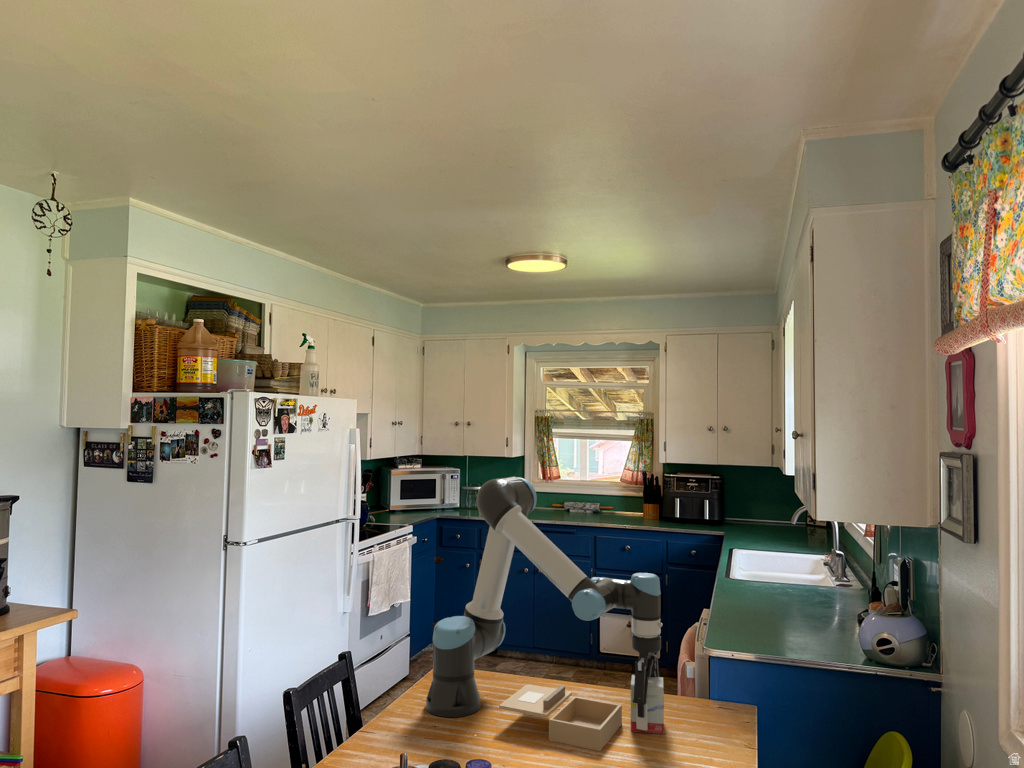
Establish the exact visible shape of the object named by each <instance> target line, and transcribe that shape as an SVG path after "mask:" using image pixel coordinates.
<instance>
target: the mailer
mask: <svg viewBox="0 0 1024 768" xmlns="http://www.w3.org/2000/svg"><path fill="white" fill-rule="evenodd" d="M622 711H623V705H622V704H620V703H612V702H609V701H608V702H607V701H602V700H596V699H590V698H585V697H579V696H573V697H572V698H570V700H568V701H567V702H566V703H565V704H564V705H563V706H562V707H560V708H559V710H557V711H556V712H555V713H554V714H553V715H552V716H551V717H550V718H549V719H548V741H551V742H554V743H555V742H556V743H559V744H564V745H569V746H574V747H579V748H584V749H589V750H593V751H598V752H601V751H602V750H603V749H604V747H605V746H606V745H608V744H607V743H608V742H609V741H610V740H611V739H612V737H613V736H614V735H615V734H616V733H617V732H618V730H619V729H620V728H621V726H622V725H623V713H622ZM619 727H620V728H619Z"/></svg>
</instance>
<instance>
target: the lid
mask: <svg viewBox="0 0 1024 768" xmlns="http://www.w3.org/2000/svg"><path fill="white" fill-rule="evenodd" d="M572 695H573V692H572V691H569V690H566V685H560V686H558V688H552V687H547V686H541V685H535V684H529V683H527V684H526V685H524V686H523V687H521V688H520V689H519V690H518V691H516V692H515V693H514V694H512V695H510V696H508V698H507V699H505V700H504V701H503V702H501V703H500V704H499V705H498V709H499V710H504V711H509V712H515V713H521V714H526V715H529V716H530V715H531V716H535V717H541V718H546V719H547V718H548V717H549V716H550V715H552V714H553V713H554V712H555V711H556V710H557V709H558V708H559V707H560V706H561V705H563V704H564V703H565V702H566V701H567V700H568V699H570V697H572Z"/></svg>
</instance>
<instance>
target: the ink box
mask: <svg viewBox="0 0 1024 768" xmlns="http://www.w3.org/2000/svg"><path fill="white" fill-rule="evenodd" d="M630 679H631V680H630V731H631V732H635V733H642V734H643V733H645V734H646V733H647V734H657V735H664V734H665V731H664V729H665V696H664V695H665V694H664V693H665V691H664V689H665V687H664V677H661V676H659V677H649V679H648V687H647V698H646V703H647V715H648V730H647V731H646V730H640V729H636V703H633V699H634V684H635V674H631V678H630ZM639 699H641V698H639Z"/></svg>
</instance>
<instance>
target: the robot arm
mask: <svg viewBox="0 0 1024 768" xmlns="http://www.w3.org/2000/svg"><path fill="white" fill-rule="evenodd" d="M537 498H538V497H537V491H536V489H535V488H534V486H533V484H532V483H531V482H530V481H529V480H527V479H525V478H523V477H518V476H510V477H501V478H493V479H490V480H488V481H486V482H484V483H483V484H482V485H481V486H480V488H479V490H478V492H477V494H476V506H477V510H478V512H479V514H480V515H481V517H482V518H483V520H484V521H485V522H486V523H487V525H489V527H488V533H487V535H486V541H485V546H484V550H483V554H482V559H481V562H480V566H479V571H478V576H477V579H476V584H475V589H474V592H473V596H472V600H471V601H470V602H468V603H466V605H465V608H464V612H463V615H454V616H450V617H444V618H443V619H442V618H441V620H439V621H437V622H436V624H435V625H434V627H433V634H432V681H431V682H430V686H429V690H428V693H427V696H426V701H425V709H426V711H427V712H428V713H430V714H431V715H434V716H438V717H441V718H442V717H444V718H461V717H465V716H469V715H473V714H475V713H476V712H478V711H479V710H480V708H481V696H480V695H481V694H480V693H479V688H478V686H477V683H476V679H475V660H478V659H479V658H482V657H483V656H485V655H488V654H490V653H492V652H494V651H495V650H496V649H497V648H498V647H499V646H500V645H502V642H503V641H504V639H505V636H506V624H505V622H504V612H503V609H501V605H502V601H503V597H504V592H505V588H506V584H507V581H508V575H509V573H510V568H511V564H512V559H513V556H514V551H515V547H516V548H517V549H518V550H519V551H520V552H521V553H522V554H523V555H524V556H525V557H527V559H528V560H529V561H530V562H531V563H532V564H533V565H534V566H535V567H536V568H537V569H538V570H540V571H541V573H542V574H543V575H545V577H546V578H547V579H548V580H549V581H550V582H551V584H553V585H554V586H555V587H556V588H557V589H558V590H560V592H561V593H562V594H563V595H565V597H566V598H568V600H570V602H571V607H572V608H571V609H572V610H573V613H574V614H575V616H576V617H577V618H578V619H580V620H582V621H588V622H589V621H593V620H596V619H598V618H600V617H602V616H603V615H604V614H605V613H607V612H609V611H610V610H612V609H614V608H615V609H623V610H631V632H632V633H633V634H631V648H632V649H633V650H634V651H636V652H638V654H639V655H638V657H637V660H635V663H634V675H635V684H634V699H633V703H636V729H640V730H646V731H647V730H648V715H647V703H646V698H647V687H648V679H649V677H660V671H659V669H660V668H659V657H658V655H659V654H658V653H659V652H660V651H661V649H662V636H661V633H662V632H661V631H662V630H661V628H662V627H663V623H662V622H661V594H662V592H661V583H660V582H661V581H660V577H659V576H658V575H656V574H655V573H650V572H649V573H648V572H635V573H633V574H632V575H631V578H630V579H621V578H620V579H618V578H613V577H611V578H610V577H605V576H601V577H599V576H597V577H596V576H593V577H591V578H590V577H589V576H587V575H586V574H585V572H584V571H582V570H581V569H580V567H578V566H577V565H576V564H575V563H574V562H573V561H572V560H571V559H570V558H569V557H568V556H567V555H566V554H565V553H564V552H563V551H562V550H561V549H560V548H559V547H558V546H556V544H554V543H553V541H552V540H550V538H548V537H547V535H545V534H544V533H543V532H542V531H541V530H540V529H539V528H538V527H537V526H536V524H534V523H533V522H532V521H531V520H530V519H529V518H528V516H529V514H530V513H532V511H534V509H535V508H536V505H537V501H538V500H537ZM639 698H641V699H639Z"/></svg>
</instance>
